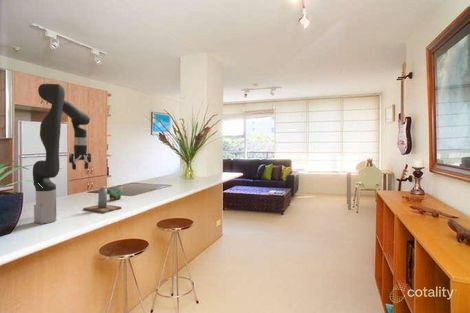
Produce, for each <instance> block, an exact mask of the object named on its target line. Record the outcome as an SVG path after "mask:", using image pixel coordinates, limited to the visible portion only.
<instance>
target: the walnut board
mask: <svg viewBox="0 0 470 313" xmlns="http://www.w3.org/2000/svg"><path fill="white" fill-rule="evenodd" d="M121 209H122V206H118V205H112V204H111V205H110V204H107V207H106V208H98V204H95V205H92V206H87V207H83V209H82V210H83V211H85V212H86V211H88V212H91V213H92V212H94V213H99V214H106V213H110V212H113V211H118V210H121Z"/></svg>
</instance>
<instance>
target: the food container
mask: <svg viewBox="0 0 470 313" xmlns="http://www.w3.org/2000/svg"><path fill="white" fill-rule="evenodd" d="M122 190H123V186H122V185H121V184H118V185H117V186H113V187H112V186H111V187H109V186H108V188H107V191H108V195H109V197H108V198H109V201H111V202H112V201H119V200H121V197H122Z"/></svg>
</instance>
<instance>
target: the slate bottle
mask: <svg viewBox="0 0 470 313" xmlns="http://www.w3.org/2000/svg"><path fill="white" fill-rule="evenodd" d="M107 199H108V188H106V186H104V185H101V186H100V188H98V199H97V200H98V201H97V205H98V208H106V207H107V205H108V204H107V202H108V200H107Z"/></svg>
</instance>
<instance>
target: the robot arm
mask: <svg viewBox="0 0 470 313" xmlns="http://www.w3.org/2000/svg"><path fill="white" fill-rule="evenodd" d="M65 91H66V90H65V88H64V86H63V85H61V84H59V83H58V84H57V83H42V84H40V85H39V86H38V91H37V93H38V96H39V97H40V98H41V99H42V100H44V101H45V102H47V103H49V104H50V106H51V107H50V109H49V110H48V112H47V114H46V115H45V116H44V117H43V119H42V121H41V122H40V127H39V138H40V140H41V143H42V145H43V147H44V150H45V160H38V161H36V162H35V163H34V164H33V166H32V181H34V182H33V186H34V189H35V204H33V220H34V221H33V222H34V224H35V223H36V224H40V225H42V224H49V223H53V222H56V221H57V186H56V183H54V182H52V181H51V179H53V178H56V177H57V175H58V174H59V172H60V141H61V140H60V138H61V128H62V127H61V126H62V125H61V124H62V115H63V113H64V114H65V115H66V116H67V117H68V118H70V120H71V124H72V128H73V133H74V134H73V135H74V138H73V153H69V155H68V163H69V164H71V169H72V170H73V171H74V170H75V171H77V164H76V163H77V162H78V161H83V162H84V163H83V164H84V166H83V167H84V169H85V170H88V169H89V163H91V162H92V153H88V152H87V151H88V140H87V129H86V128H82V127H81V126H87V125H89V124H90V122H91V120H90V116H89V115H88V114H87V113H85V112H84V111H82V110H80V109H78V108H77V107H76V106H75V105H74V104H72V103H71V102H69V101H67V100H65V95H66V94H65V93H66V92H65ZM38 183H39V184H40V185H41V186H42V187H43V188H42V187H41V186H40V185H39V184H38Z"/></svg>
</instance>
